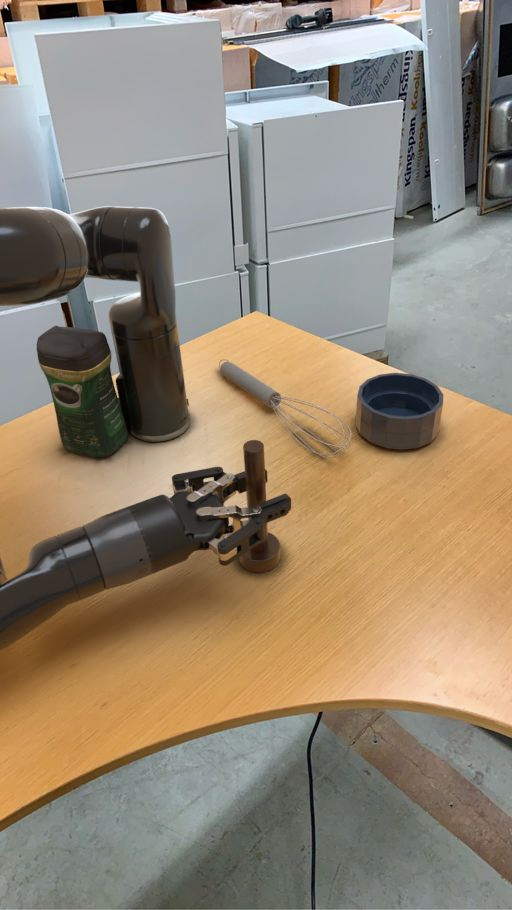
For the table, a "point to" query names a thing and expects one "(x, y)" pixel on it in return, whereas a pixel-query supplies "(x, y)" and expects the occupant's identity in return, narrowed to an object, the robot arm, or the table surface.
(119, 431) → the coffee jar
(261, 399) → the kitchen whisk
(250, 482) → the brown peg stand
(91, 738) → the table surface
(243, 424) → the table surface
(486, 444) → the table surface
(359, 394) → the bowl
